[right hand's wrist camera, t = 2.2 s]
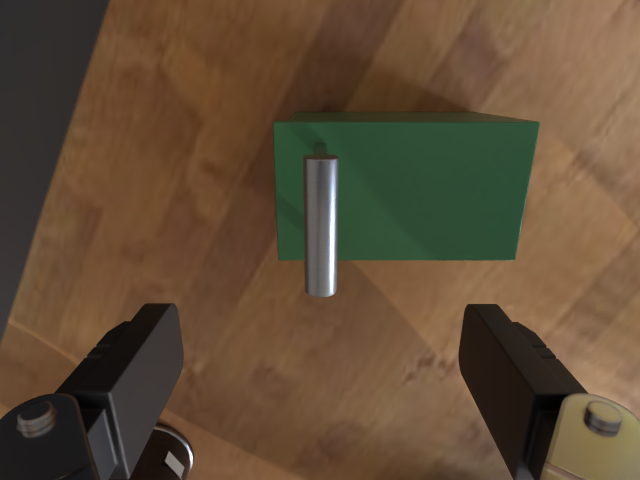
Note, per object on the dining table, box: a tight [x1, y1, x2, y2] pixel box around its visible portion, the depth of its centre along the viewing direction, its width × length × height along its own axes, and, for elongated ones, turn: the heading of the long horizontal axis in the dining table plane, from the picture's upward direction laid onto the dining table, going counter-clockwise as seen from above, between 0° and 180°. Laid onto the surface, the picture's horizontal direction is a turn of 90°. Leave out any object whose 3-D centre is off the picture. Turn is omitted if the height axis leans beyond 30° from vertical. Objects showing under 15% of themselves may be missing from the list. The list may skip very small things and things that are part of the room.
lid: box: [273, 120, 540, 297], centre depth 23 cm, size 16×9×8 cm, turn 90°
